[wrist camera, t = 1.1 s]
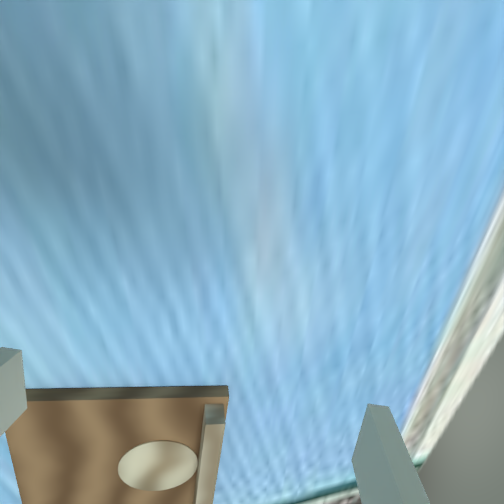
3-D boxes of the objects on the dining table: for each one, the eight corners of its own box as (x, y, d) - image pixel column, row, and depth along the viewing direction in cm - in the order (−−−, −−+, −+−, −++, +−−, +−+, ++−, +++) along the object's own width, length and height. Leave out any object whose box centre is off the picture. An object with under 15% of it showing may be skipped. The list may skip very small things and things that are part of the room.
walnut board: (34, 517, 42) (19, 556, 39) (5, 389, 33) (-17, 425, 29) (209, 501, 47) (211, 536, 43) (227, 385, 37) (231, 416, 34)
